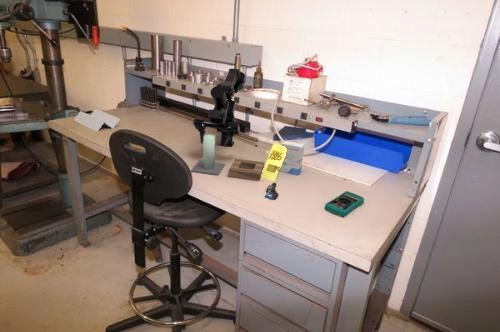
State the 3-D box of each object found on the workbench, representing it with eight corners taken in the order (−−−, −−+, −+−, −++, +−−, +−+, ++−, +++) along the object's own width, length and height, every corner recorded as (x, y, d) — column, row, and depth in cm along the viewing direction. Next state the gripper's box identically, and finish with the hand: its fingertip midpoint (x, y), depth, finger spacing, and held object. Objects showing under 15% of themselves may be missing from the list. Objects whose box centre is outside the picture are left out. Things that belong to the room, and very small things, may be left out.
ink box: (301, 171, 141) (305, 144, 136) (297, 175, 137) (301, 147, 132) (282, 166, 144) (285, 139, 140) (277, 170, 140) (280, 143, 135)
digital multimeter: (322, 210, 114) (324, 202, 112) (344, 196, 124) (346, 189, 123) (342, 219, 109) (344, 211, 108) (363, 204, 119) (365, 196, 118)
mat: (199, 161, 143) (199, 160, 143) (225, 164, 142) (225, 163, 142) (190, 171, 133) (190, 170, 133) (218, 175, 132) (218, 174, 132)
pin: (208, 163, 140) (209, 133, 135) (216, 167, 138) (217, 136, 133) (200, 166, 137) (201, 135, 132) (208, 170, 135) (209, 138, 130)
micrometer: (275, 197, 116) (261, 194, 118) (275, 202, 117) (261, 199, 118) (285, 183, 126) (272, 180, 128) (284, 187, 127) (271, 184, 129)
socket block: (235, 165, 142) (235, 158, 141) (263, 168, 141) (264, 162, 139) (228, 176, 131) (228, 169, 130) (259, 181, 130) (260, 173, 129)
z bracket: (106, 138, 174) (96, 131, 170) (82, 126, 189) (73, 120, 184) (120, 119, 177) (111, 112, 172) (96, 109, 192) (87, 102, 187)
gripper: (194, 98, 138) (185, 132, 133) (239, 103, 136) (232, 138, 130) (200, 112, 149) (192, 145, 143) (242, 117, 146) (235, 150, 140)
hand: (212, 144), depth 139 cm, fingers open, 9 cm apart
